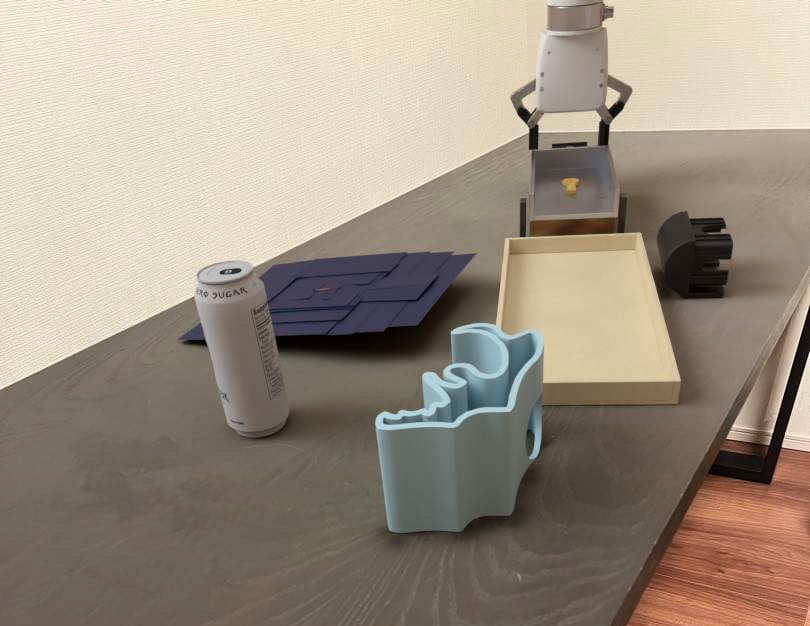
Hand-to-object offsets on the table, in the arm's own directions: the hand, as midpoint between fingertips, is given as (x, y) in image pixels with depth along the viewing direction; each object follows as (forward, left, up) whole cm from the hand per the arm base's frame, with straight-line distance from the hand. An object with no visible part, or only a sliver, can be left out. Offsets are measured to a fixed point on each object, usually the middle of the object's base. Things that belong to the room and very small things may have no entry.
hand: (567, 153), depth 119 cm
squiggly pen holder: (+9, +76, -6) cm, 77 cm away
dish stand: (0, +15, -6) cm, 16 cm away
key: (0, +13, -1) cm, 13 cm away
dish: (0, +12, -2) cm, 12 cm away
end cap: (-13, +37, -6) cm, 39 cm away
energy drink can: (+30, +68, -6) cm, 75 cm away
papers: (+28, +42, -6) cm, 51 cm away
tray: (0, +45, -6) cm, 46 cm away
